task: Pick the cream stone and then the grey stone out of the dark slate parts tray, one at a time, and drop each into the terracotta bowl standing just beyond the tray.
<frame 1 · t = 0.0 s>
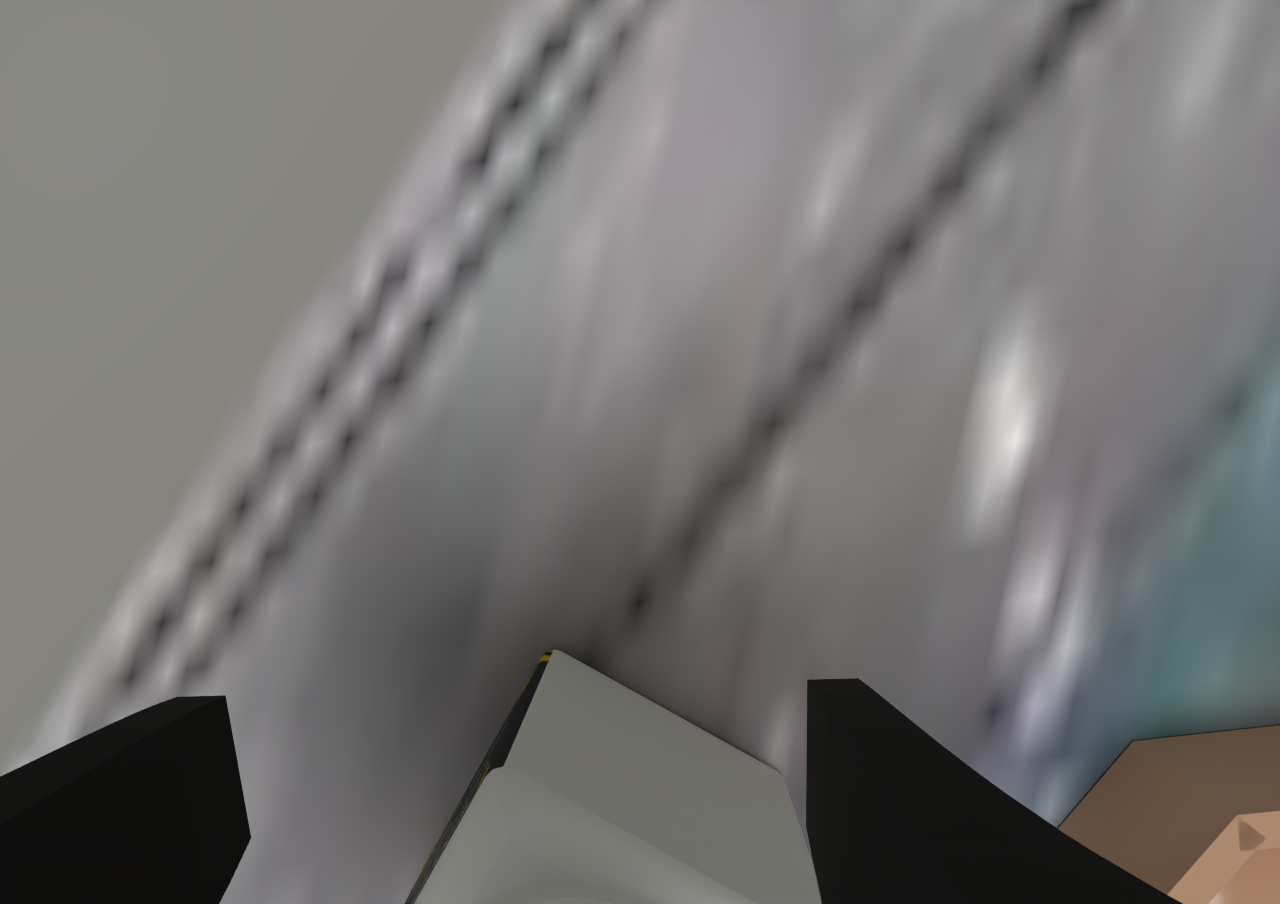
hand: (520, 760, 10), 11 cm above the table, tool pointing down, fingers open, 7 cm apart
medicine bottle: (604, 816, 21), on the table
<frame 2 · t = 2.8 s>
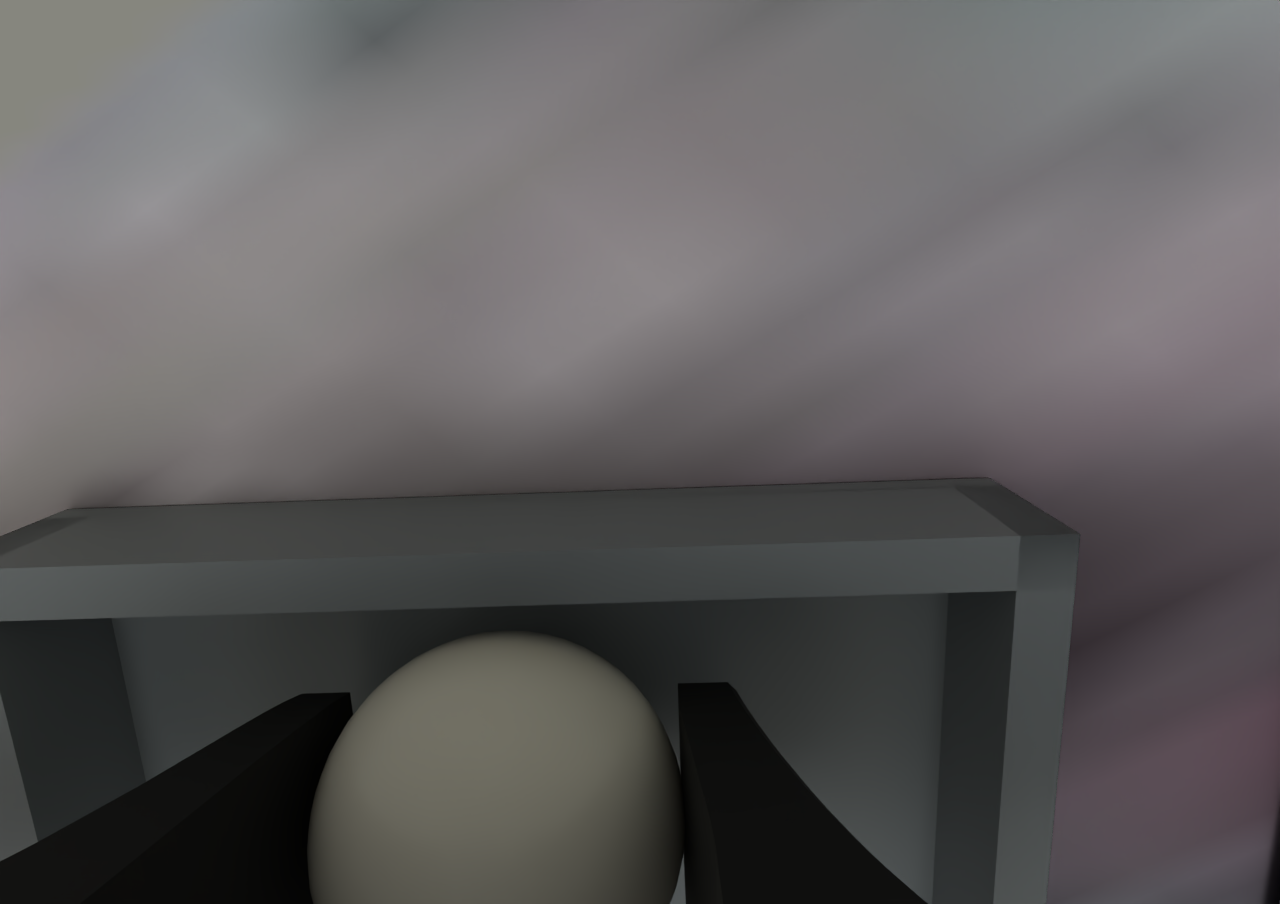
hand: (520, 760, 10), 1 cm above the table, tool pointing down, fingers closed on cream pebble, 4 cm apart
parts tray: (551, 880, 12), on the table
cream pebble: (532, 714, 10), resting on parts tray, touching gripper
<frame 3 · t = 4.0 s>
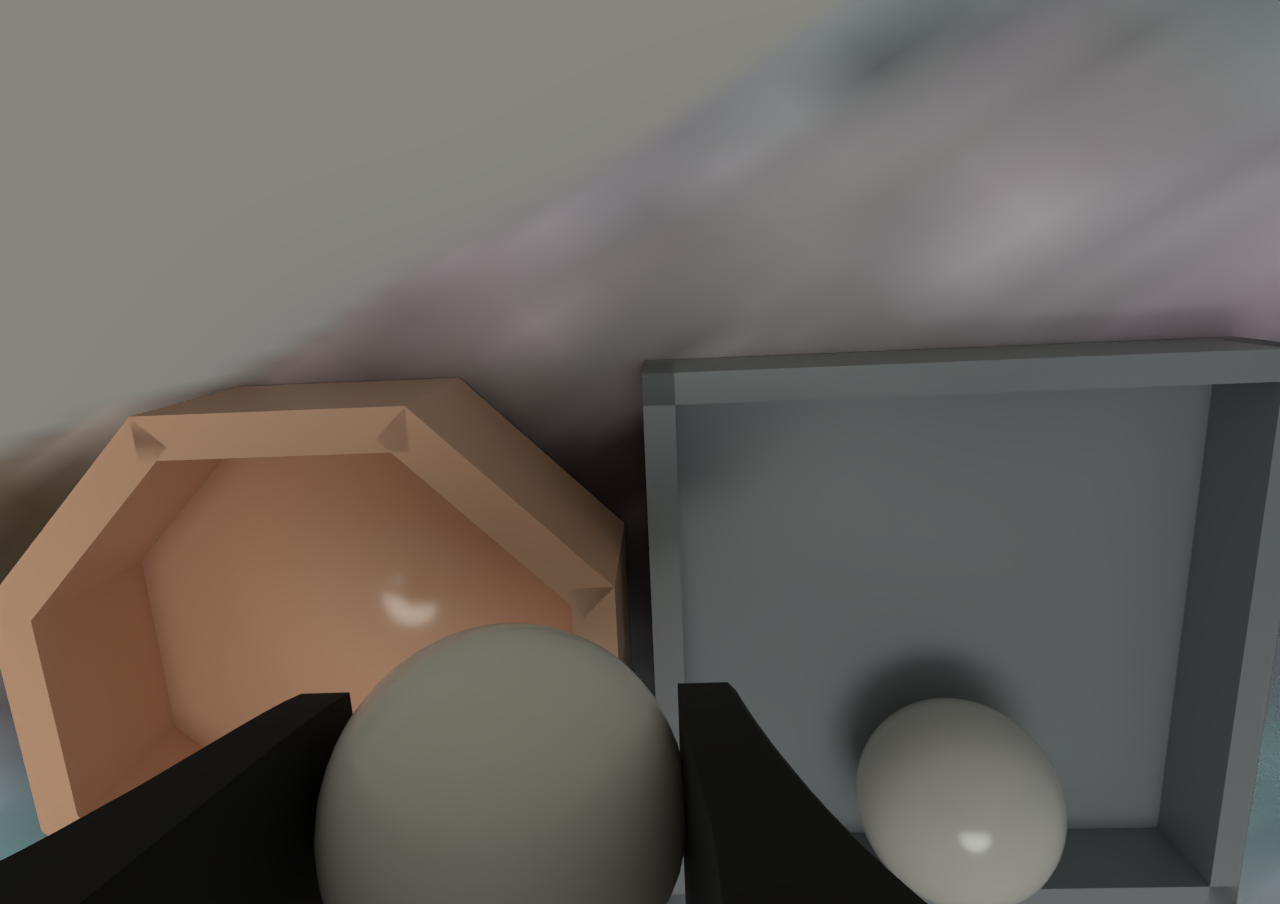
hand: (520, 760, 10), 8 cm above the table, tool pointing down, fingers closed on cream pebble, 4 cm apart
bowl: (381, 629, 18), on the table
parts tray: (923, 614, 18), on the table
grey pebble: (924, 741, 18), resting on parts tray
cream pebble: (530, 707, 11), point 7 cm above the table, touching gripper
when the fingers open (5 cm above the table, at t = 5.1 s): cream pebble drops 3 cm, resting on bowl.
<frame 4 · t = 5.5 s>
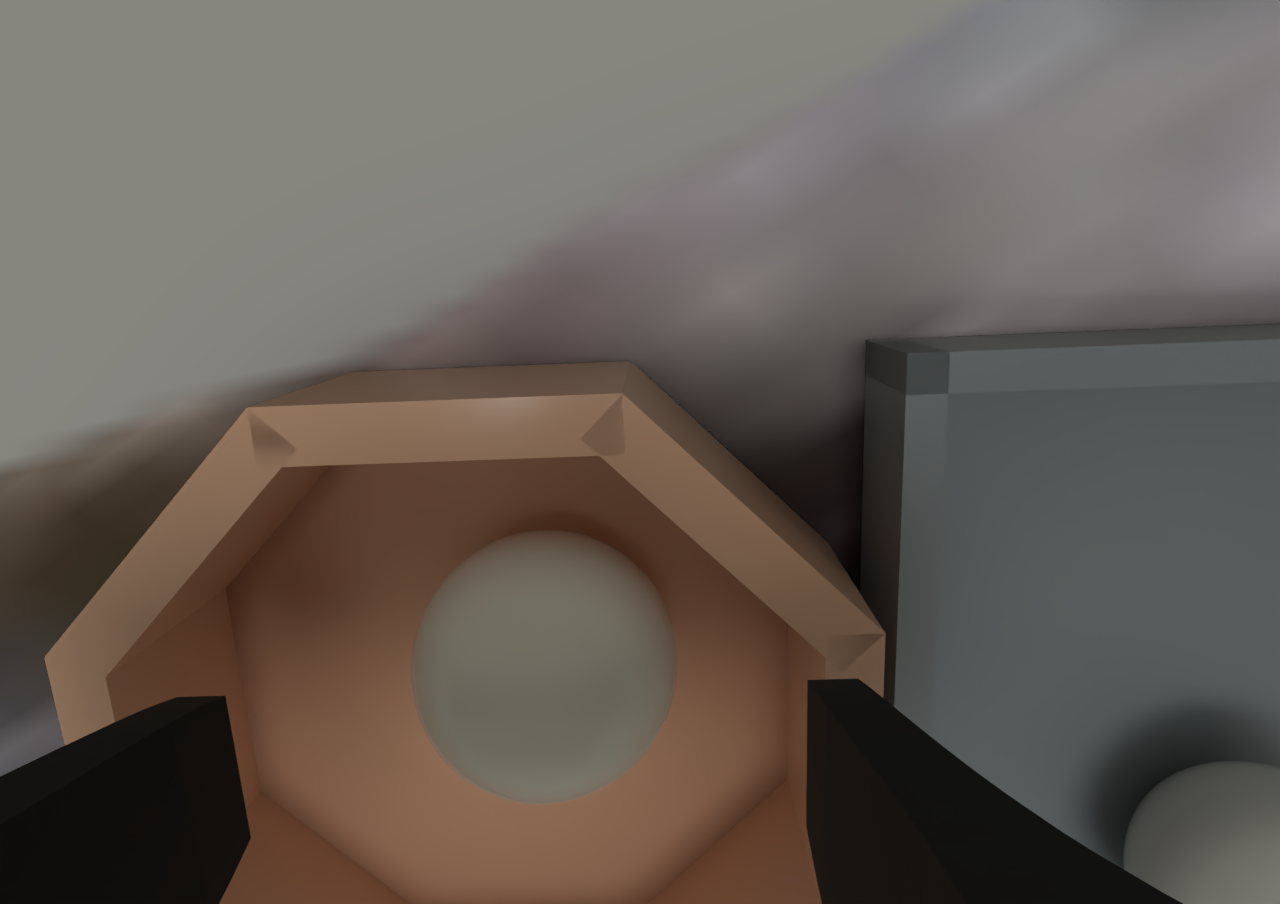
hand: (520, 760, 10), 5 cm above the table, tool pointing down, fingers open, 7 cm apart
bowl: (517, 672, 15), on the table
parts tray: (1190, 653, 14), on the table
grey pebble: (1185, 809, 15), resting on parts tray
cream pebble: (558, 605, 14), point 1 cm above the table, touching bowl
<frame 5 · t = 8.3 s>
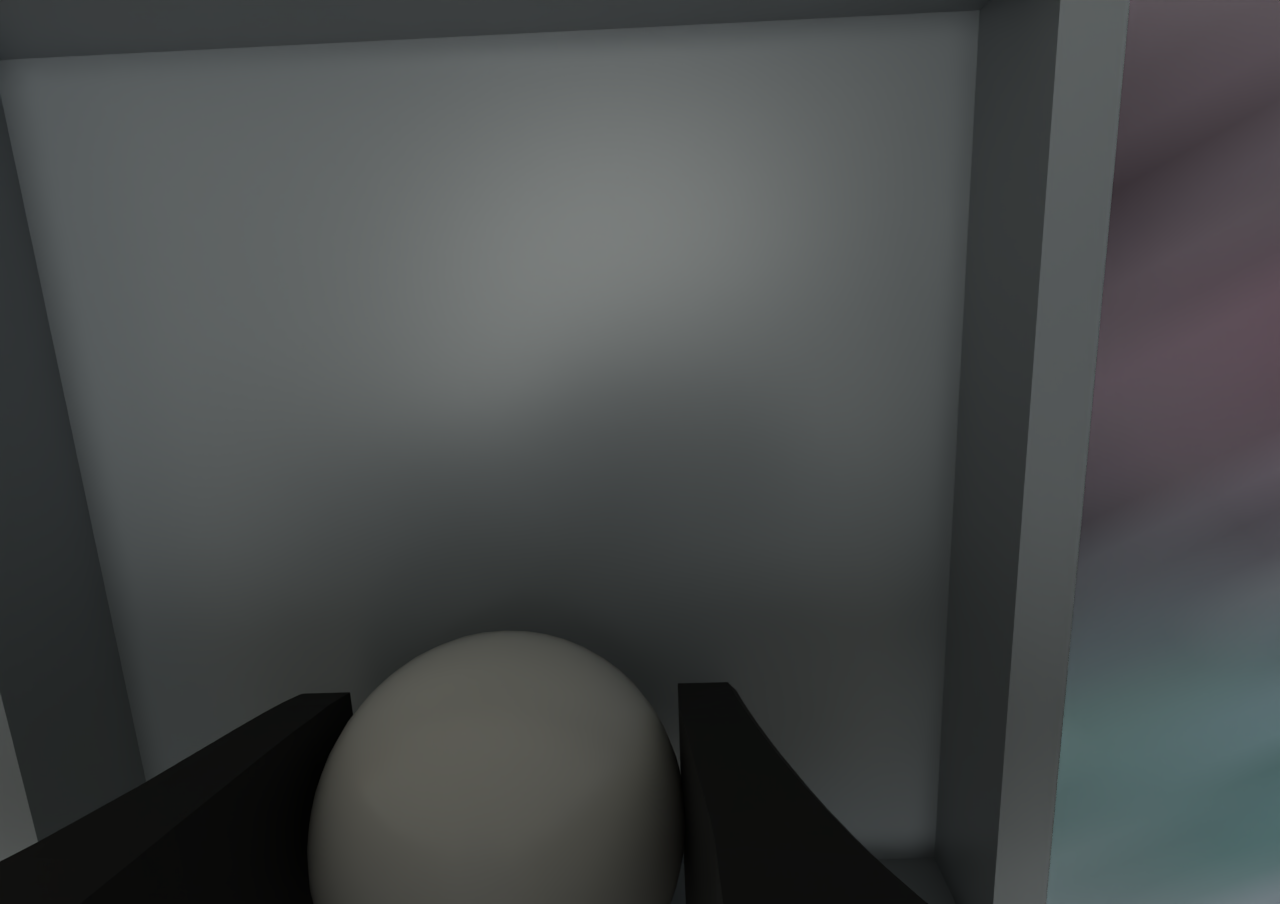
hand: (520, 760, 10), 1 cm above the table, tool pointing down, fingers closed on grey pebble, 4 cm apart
parts tray: (520, 493, 10), on the table
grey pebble: (532, 715, 10), resting on parts tray, touching gripper
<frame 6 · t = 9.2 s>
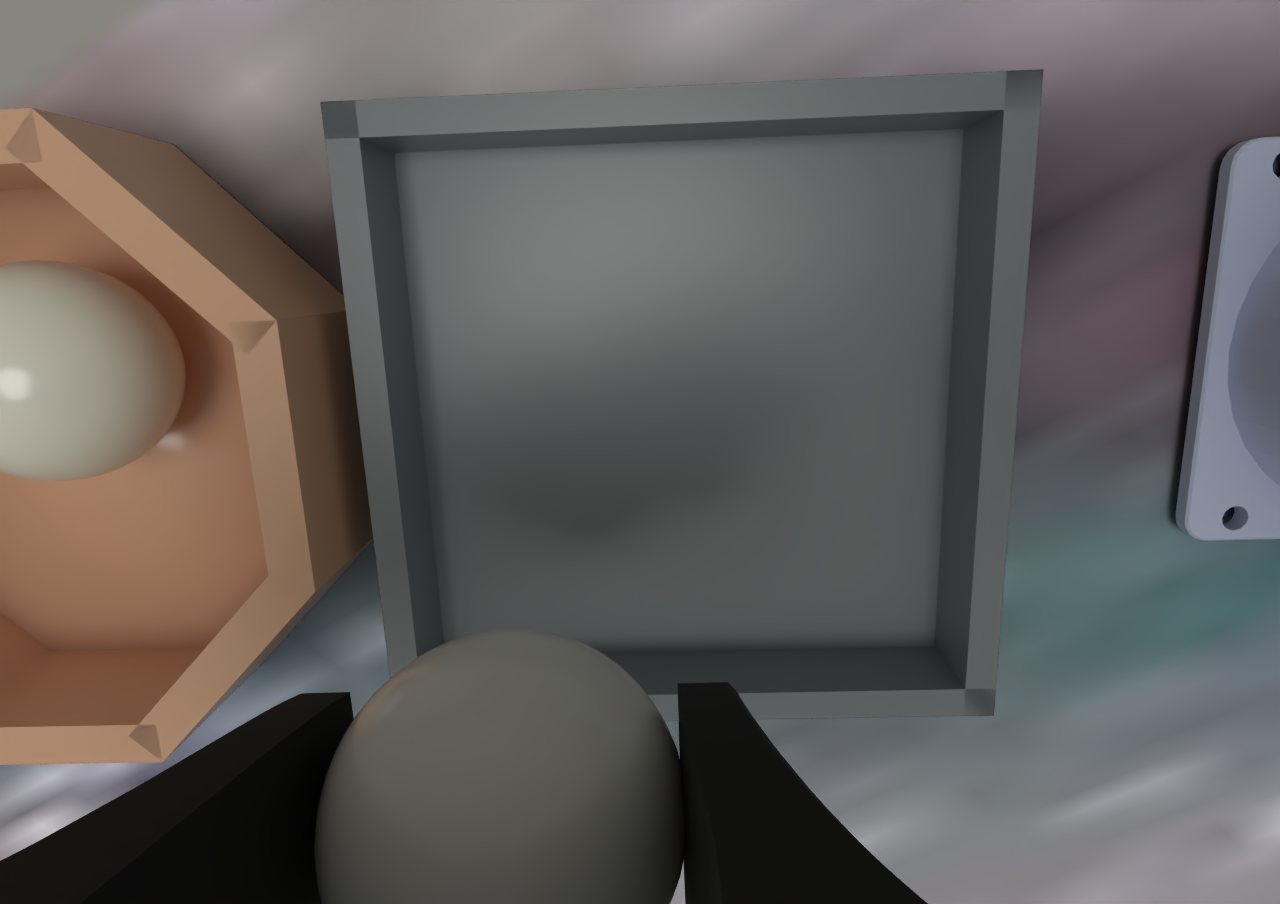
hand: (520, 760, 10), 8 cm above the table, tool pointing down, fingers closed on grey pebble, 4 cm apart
bowl: (112, 429, 17), on the table
parts tray: (681, 412, 17), on the table
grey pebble: (528, 712, 11), point 7 cm above the table, touching gripper
cream pebble: (125, 360, 16), point 1 cm above the table, touching bowl
when the fingers open (5 cm above the table, at t = 10.6 s): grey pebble drops 3 cm, resting on bowl.
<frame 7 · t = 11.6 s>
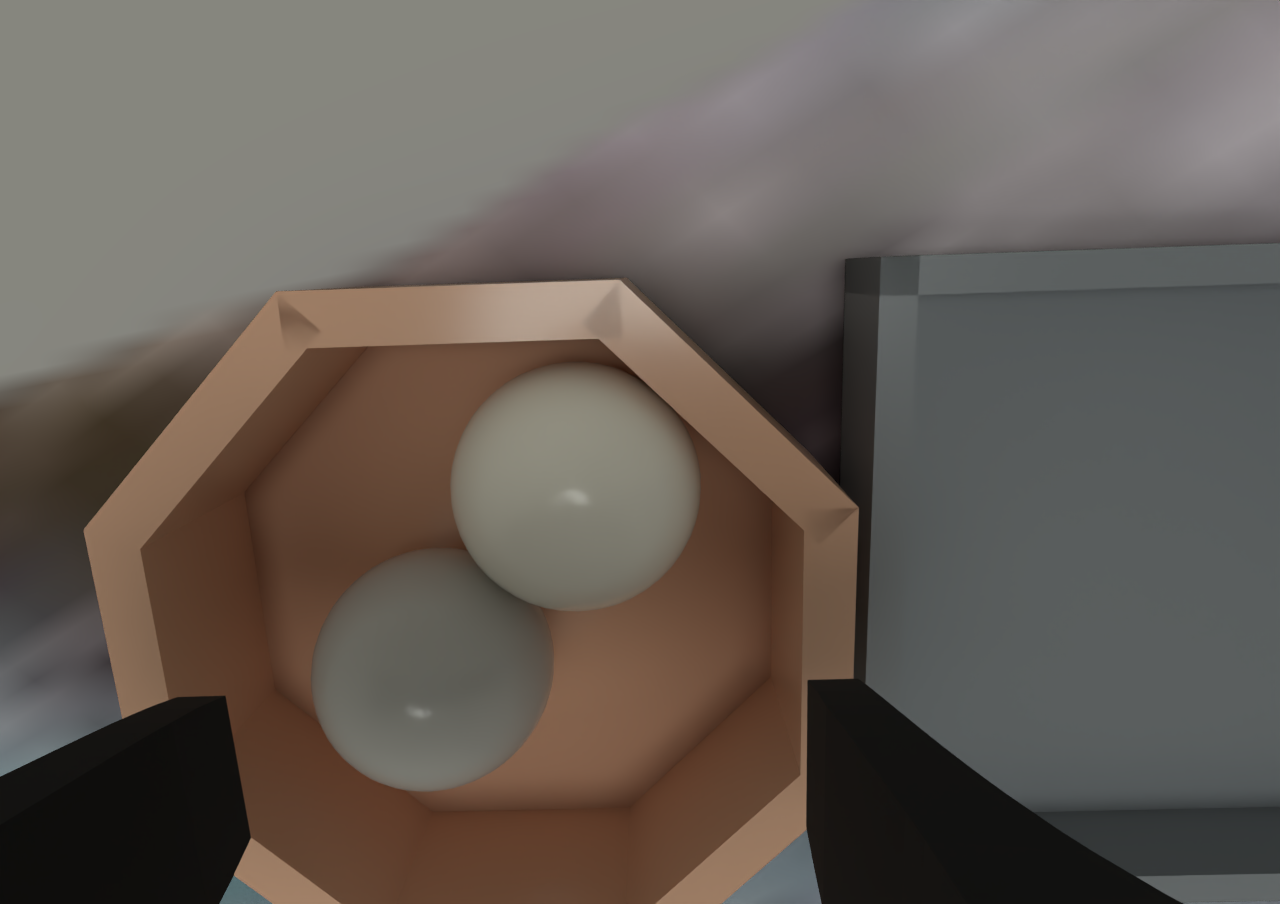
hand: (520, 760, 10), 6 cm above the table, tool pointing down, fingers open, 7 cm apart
bowl: (518, 577, 16), on the table
parts tray: (1146, 559, 15), on the table
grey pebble: (497, 621, 15), point 1 cm above the table, tilted 20°, touching bowl
cream pebble: (556, 511, 14), point 1 cm above the table, tilted 34°, touching bowl
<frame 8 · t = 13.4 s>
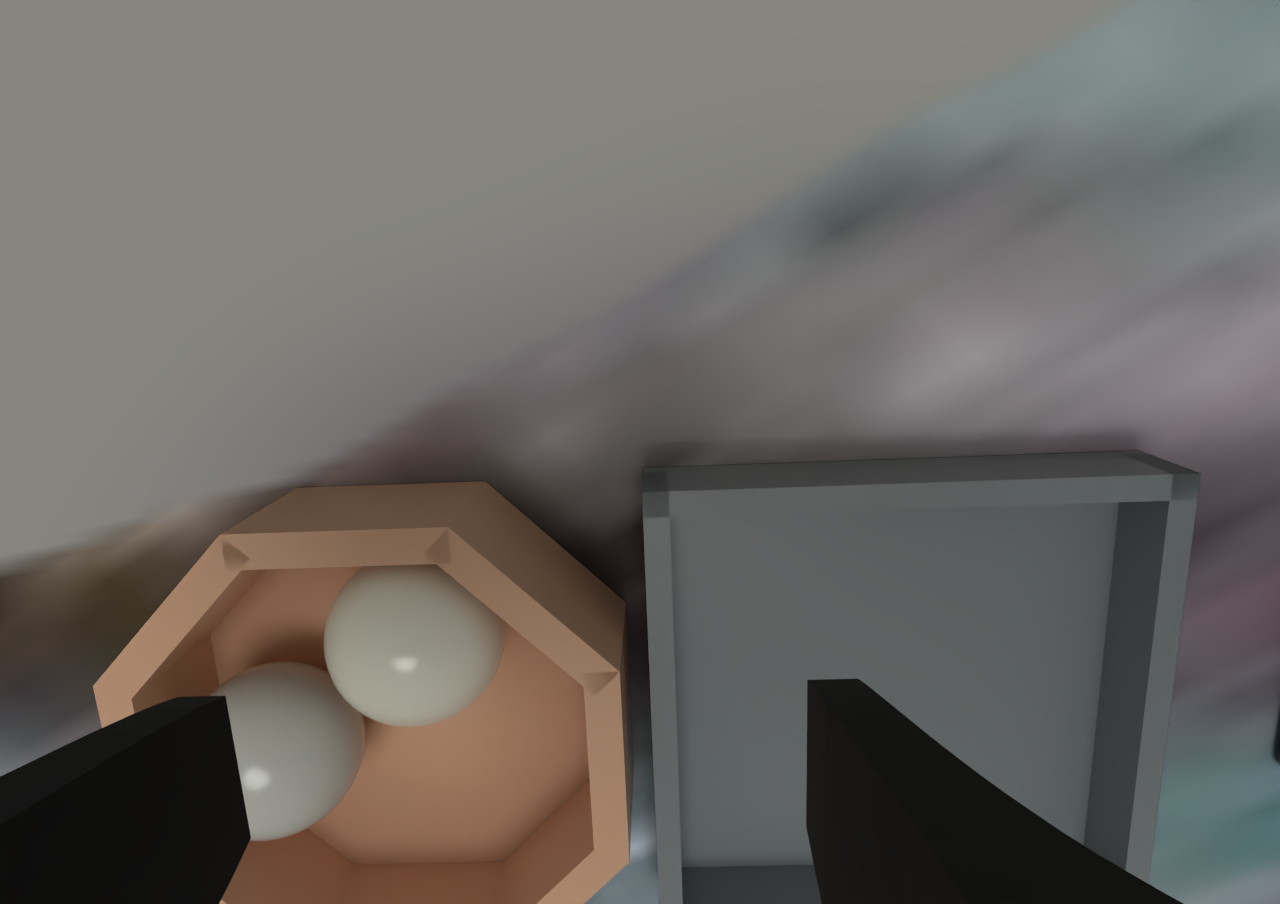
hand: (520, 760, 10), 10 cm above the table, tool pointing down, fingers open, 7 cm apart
bowl: (415, 691, 21), on the table
parts tray: (881, 678, 21), on the table
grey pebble: (364, 746, 19), point 2 cm above the table, tilted 68°, touching bowl
cream pebble: (431, 649, 20), point 1 cm above the table, tilted 37°, touching bowl
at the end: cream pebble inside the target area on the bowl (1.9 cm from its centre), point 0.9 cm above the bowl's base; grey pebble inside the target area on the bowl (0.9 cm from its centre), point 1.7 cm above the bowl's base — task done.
